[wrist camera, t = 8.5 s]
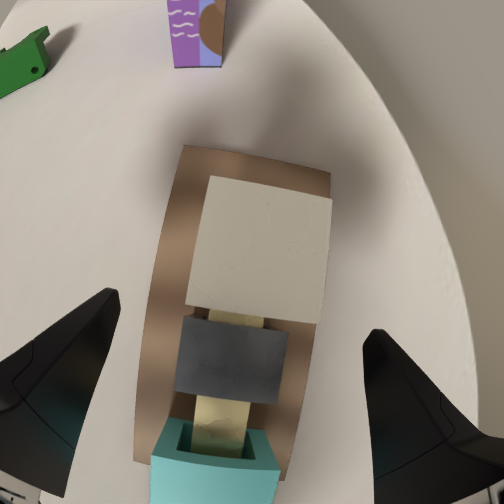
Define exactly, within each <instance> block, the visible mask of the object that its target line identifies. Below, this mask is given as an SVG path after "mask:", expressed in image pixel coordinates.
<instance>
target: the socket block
mask: <svg viewBox="0 0 504 504" xmlns="http://www.w3.org/2000/svg"><path fill="white" fill-rule="evenodd" d="M193 424H194V422H193V421H188V420H182V419H177V418H172V417H168V418H167V421H166V423H165V425H164V427H163V429H162V432H161V434H160V436H159V438H158V441H157V443H156V445H155V447H154V450H153V452H152V454H151V472H150V504H272V502H273V498H274V495H275V491H276V487H277V483H278V480H279V476H280V472H281V470H280V468H279V465H278V463H277V460H276V458H275V456H274V453H273V451H272V448H271V446H270V444H269V441H268V439H267V436H266V434H265V431H264V430H259V429H247V428H246V432H245V437H244V443H243V449H242V454H241V459H235V458H225V457H216V456H209V455H202V454H195V453H190V450H191V441H192V433H193Z"/></svg>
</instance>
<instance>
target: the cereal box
mask: <svg viewBox="0 0 504 504" xmlns="http://www.w3.org/2000/svg"><path fill="white" fill-rule="evenodd" d="M226 5H227V0H167V6H168V16H169V26H170V35H171V43H172V51H173V59H174V67H175V68H202V67H220V68H221V64H222V51H223V38H224V27H225V16H226Z"/></svg>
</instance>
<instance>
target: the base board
mask: <svg viewBox="0 0 504 504" xmlns="http://www.w3.org/2000/svg"><path fill="white" fill-rule="evenodd" d="M210 175H212V176H218V177H224V178H230V179H236V180H241V181H247V182H252V183H258V184H263V185H268V186H273V187H278V188H283V189H288V190H293V191H298V192H302V193H307V194H311V195H316V196H320V197H325V198H329V194H330V175H331V173H329V172H326V171H321V170H317V169H313V168H309V167H305V166H300V165H296V164H291V163H287V162H282V161H277V160H272V159H267V158H262V157H257V156H252V155H246V154H241V153H235V152H229V151H223V150H216V149H210V148H203V147H196V146H188V145H184V147H183V150H182V154H181V157H180V161H179V164H178V168H177V171H176V175H175V179H174V182H173V186H172V190H171V194H170V198H169V202H168V206H167V210H166V214H165V218H164V222H163V227H162V231H161V235H160V240H159V245H158V249H157V254H156V259H155V264H154V269H153V275H152V280H151V286H150V291H149V297H148V303H147V310H146V316H145V323H144V330H143V337H142V345H141V353H140V362H139V371H138V382H137V393H136V407H135V424H134V453H133V461H136V462H139V463H143V464H147V465H151V454H152V452H153V450H154V447H155V445H156V443H157V441H158V438H159V436H160V434H161V432H162V429H163V427H164V425H165V423H166V421H167V418H168V417H172V418H177V419H182V420H188V421H193V422H194V416H195V408H196V400H197V395H195V394H189V393H184V392H178V391H174V383H175V374H176V367H177V359H178V351H179V344H180V337H181V331H182V324H183V317H184V316H186V315H189V314H193V313H194V314H200V315H205V316H209V310H210V309H209V308H203V307H197V306H192V305H186V304H185V301H186V295H187V289H188V284H189V278H190V272H191V267H192V261H193V256H194V251H195V245H196V240H197V235H198V230H199V225H200V221H201V216H202V211H203V206H204V202H205V197H206V193H207V188H208V184H209V179H210ZM263 325H270V326H273V327H276V328H279V329H281V330H284V331H287V332H289V336H288V343H287V349H286V355H285V361H284V367H283V373H282V379H281V384H280V390H279V395H278V401H277V404H264V403H253V402H251V403H250V409H249V415H248V421H247V426H246V428H247V429H259V430H264V431H265V434H266V436H267V439H268V441H269V444H270V446H271V448H272V451H273V453H274V456H275V458H276V460H277V463H278V465H279V468H280V470H281V472H280V476H279V480H278V481H284V480H285V476H286V472H287V469H288V465H289V461H290V457H291V453H292V448H293V444H294V440H295V436H296V431H297V427H298V422H299V418H300V413H301V408H302V403H303V398H304V393H305V388H306V382H307V377H308V371H309V366H310V360H311V354H312V348H313V342H314V335H315V329H316V324H314V323H305V322H297V321H289V320H281V319H273V318H266V317H264V323H263Z"/></svg>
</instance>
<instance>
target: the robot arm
mask: <svg viewBox="0 0 504 504" xmlns="http://www.w3.org/2000/svg"><path fill="white" fill-rule="evenodd" d="M120 310H121V307H120V300H119V294H118V291H117V290H116V289H112V288H105V289H103V290H102V291H100V292H99V293H97V294H96V295H94V296H93V297H91V298H90V299H88V300H87V301H85V302H84V303H83V304H81V305H80V306H78V307H77V308H75V309H74V310H73V311H71V312H70V313H68V314H67V315H65V316H64V317H63V318H61V319H60V320H58V321H57V322H56V323H54V324H53V325H52V326H50V327H49V328H47V329H46V330H45V331H43V332H42V333H41V334H39V335H38V336H37V337H35V338H34V339H33V340H31V341H30V342H28V343H27V344H26V345H24V346H23V347H22V348H20V349H19V350H17V351H16V352H15V353H13V354H12V355H10V356H9V357H7V358H5V359H4V360H2V361H1V362H0V504H41V503H40V501H39V498H40V493H41V490H43V491H45V492H48V493H51V494H53V495H56V496H58V497H61V498H64V495H65V490H66V486H67V481H68V477H69V473H70V469H71V465H72V461H73V458H74V454H75V450H76V446H77V443H78V439H79V436H80V433H81V429H82V426H83V423H84V420H85V417H86V414H87V411H88V408H89V405H90V402H91V399H92V396H93V393H94V390H95V387H96V385H97V382H98V379H99V376H100V374H101V371H102V368H103V366H104V363H105V361H106V358H107V355H108V353H109V350H110V346H111V343H112V339H113V336H114V332H115V328H116V325H117V322H118V318H119V315H120ZM363 367H364V385H365V393H366V401H367V409H368V417H369V427H370V437H371V448H372V461H373V477H374V504H504V438H498V437H492V436H488V435H486V434H484V433H482V432H481V431H479V430H478V429H477V428H476V427H475V426H474V425H473V424H472V423H471V422H470V421H469V420H468V419H467V418H466V417H465V416H464V415H463V414H462V413H461V412H460V411H459V410H458V409H457V408H456V407H455V406H454V405H453V404H452V403H451V402H450V401H449V400H448V398H447V397H446V396H445V395H444V394H443V393H442V392H440V390H439V388H438V387H437V386H436V385H435V384H434V383H433V382H432V381H431V380H430V378H429V377H428V376H427V375H426V374H425V373H424V372H423V371H422V370H421V369H420V367H419V366H418V365H417V364H416V363H415V362H414V361H413V360H412V359H411V358H410V357H409V356H408V354H407V353H406V352H405V351H404V350H403V349H402V348H401V347H400V346H399V345H398V344H397V343H396V342H395V341H394V340H393V339H392V337H391V336H390V335H389V334H388V333H387V332H386V331H385V330H383V329H373V330H372V331H371V333H370V334H369V336H368V337H367V339H366V340H365V342H364V344H363Z"/></svg>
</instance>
